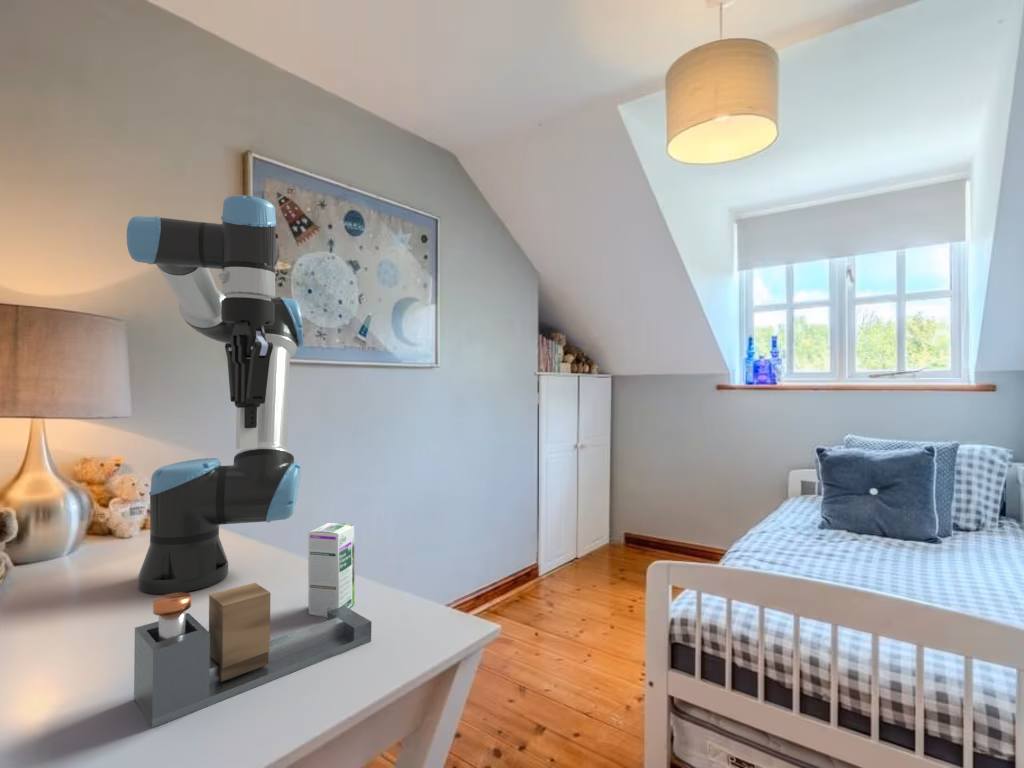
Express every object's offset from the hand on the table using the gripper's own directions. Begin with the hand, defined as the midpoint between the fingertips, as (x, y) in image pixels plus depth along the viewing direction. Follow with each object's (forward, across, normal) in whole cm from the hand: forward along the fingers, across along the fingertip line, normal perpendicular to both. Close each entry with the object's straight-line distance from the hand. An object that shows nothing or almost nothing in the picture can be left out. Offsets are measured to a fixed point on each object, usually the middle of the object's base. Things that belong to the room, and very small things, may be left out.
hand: (246, 448), depth 85 cm
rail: (+29, +13, -2) cm, 32 cm away
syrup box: (+29, +3, +14) cm, 32 cm away
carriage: (+28, +13, -6) cm, 31 cm away
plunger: (+26, +13, -14) cm, 32 cm away
